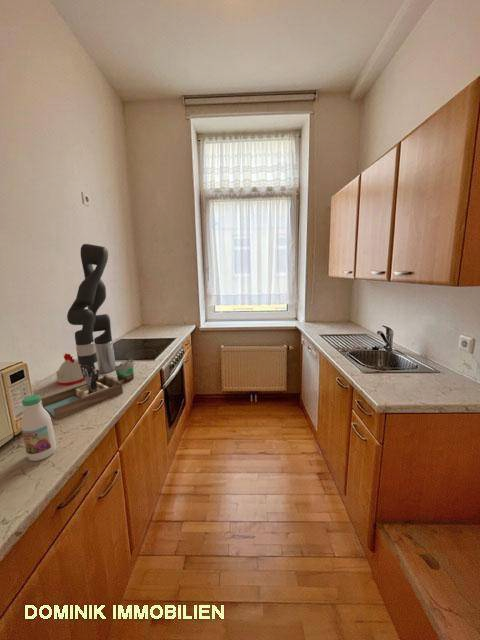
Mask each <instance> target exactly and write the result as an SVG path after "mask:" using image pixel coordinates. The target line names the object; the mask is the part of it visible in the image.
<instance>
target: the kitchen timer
mask: <svg viewBox="0 0 480 640" xmlns="http://www.w3.org/2000/svg"><path fill="white" fill-rule="evenodd" d="M63 358H64V362H63V363H62V364H61V365H60V366H59V368H58V371H56V381H57V385H58V386H62V387H63V386H65V387H67V386H72V385H76V384H79V383H82V382H84V381H86V380H85V377H83V374H82V371H81V368H80V364H79V363H78V360H76V359H75V358H73V356H71V354H70V353H67V352H66V353H64V355H63Z"/></svg>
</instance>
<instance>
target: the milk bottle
mask: <svg viewBox="0 0 480 640" xmlns="http://www.w3.org/2000/svg"><path fill="white" fill-rule="evenodd" d="M41 399H42V396H41V395H40V394H33V395H29V396H26V397H24V398H23V399H22V400H21V402H22V406H23V408H24V411H23V416H22V419H21V431H22V432H21V433H22V438H23V442H24V443H23V444H24V446H25V452H26V455H27V459H28V460H29V461H31V462H38V461H42V460H45V459H47V458H49V457H50V456H52V455H54V453H55V452H56V451H57V442H56V436H55V431H54V426H53V422H52V418H51V415H50V414H49V413H48V412H47V411H46V410H45V409H44V408H43V405H42V400H41Z"/></svg>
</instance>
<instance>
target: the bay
mask: <svg viewBox="0 0 480 640" xmlns="http://www.w3.org/2000/svg"><path fill="white" fill-rule="evenodd" d="M96 382H99V383H101V384H103V385H105V386H107V387H109V388H108V389H105V390H102V391H100V392H97V393H94V394H92V395H89V396H87V397H84V398H80V397H79V396H77V395H76V390H75V389H77V388H80V387H83V386H86V385H87V382H85V383H83V384H79V385H77V386H74V387H71V388H69V389H66V390H61V391H59V392H57V393H53V394H50V395H48V396H44V397H41V401H42V402H41V405H42V406H43V408H44V409H45V410H46V411H47V412H48V413H49V415H50V417H52V418H53V419H55V421H58V420H60V419H63V418H64V417H68V416H70V415H72V414H74V413H77V412H80V411H83V410H84V409H87V408H89V407H92V406H94V405H96V404H99V403H103V402H104V401H106V400H109V399H111V398H114V397H117V396H119V395H122V394H123V393H124V391H123V383H122V382H120V381H118V379H115V378H114V377H112V376H109V375H107V374H104V375H103V376H102V377H101V378H98V380H97V381H96Z"/></svg>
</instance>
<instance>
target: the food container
mask: <svg viewBox="0 0 480 640" xmlns="http://www.w3.org/2000/svg"><path fill="white" fill-rule="evenodd" d="M134 365H135V362H134V359H133V358H131V357H129V358H128V357H127V360H126V361H123V362H121V363H120V364H119V365H116V366H115V370H114V371H115V373H116V377H117V380H118V381H120V382H122V384H126V383H129V382H131V381H133V380H134V374H135V371H134Z"/></svg>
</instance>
